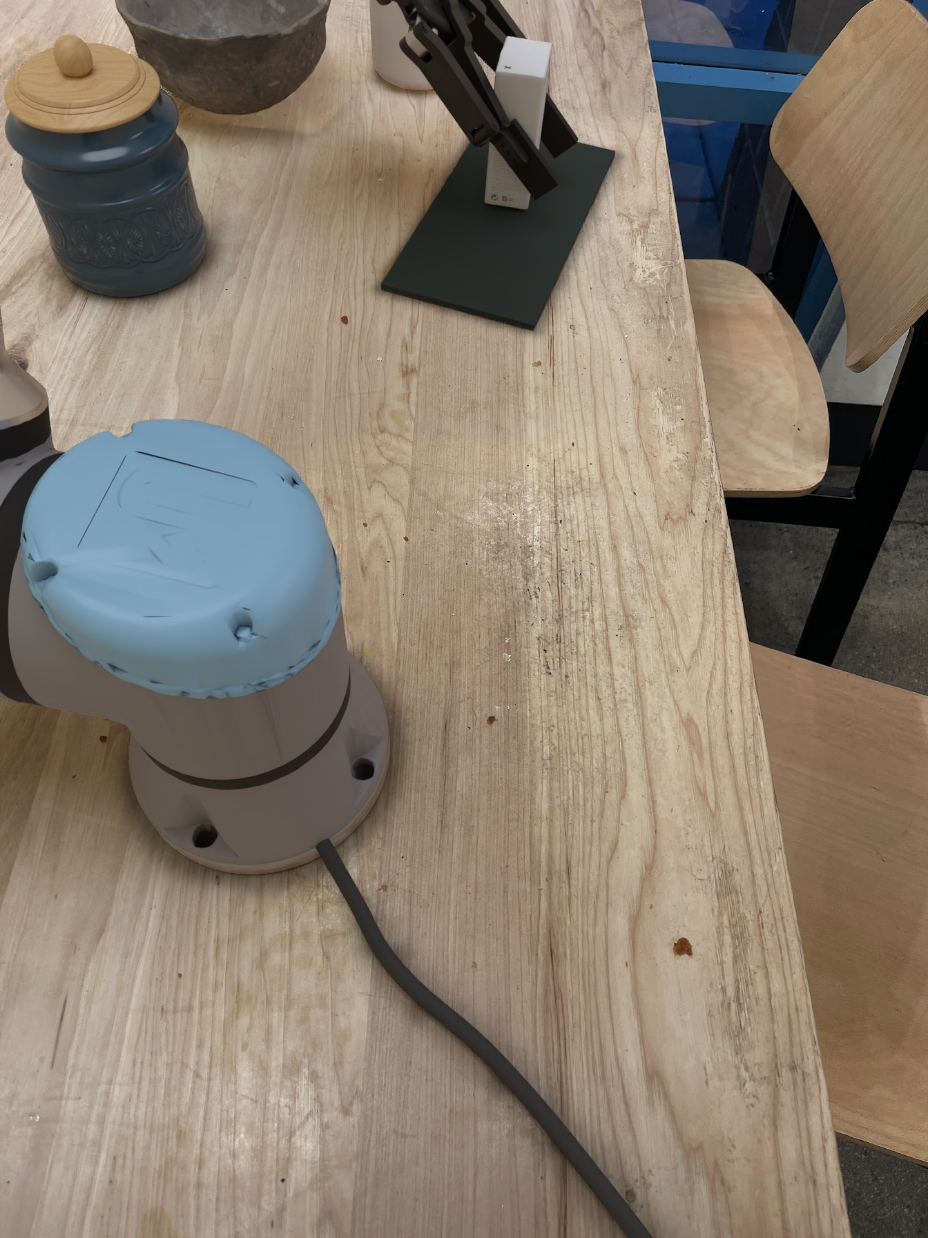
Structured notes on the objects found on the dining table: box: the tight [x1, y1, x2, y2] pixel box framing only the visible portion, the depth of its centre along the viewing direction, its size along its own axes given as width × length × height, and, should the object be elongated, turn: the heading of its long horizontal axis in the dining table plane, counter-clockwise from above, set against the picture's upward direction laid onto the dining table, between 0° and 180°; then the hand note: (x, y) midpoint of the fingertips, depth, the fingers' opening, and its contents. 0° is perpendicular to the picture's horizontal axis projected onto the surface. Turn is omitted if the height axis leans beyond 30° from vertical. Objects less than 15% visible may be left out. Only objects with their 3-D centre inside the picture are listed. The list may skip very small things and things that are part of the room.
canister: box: [3, 34, 207, 298], centre depth 71 cm, size 13×13×18 cm
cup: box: [368, 0, 434, 91], centre depth 92 cm, size 10×10×10 cm
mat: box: [380, 139, 616, 331], centre depth 83 cm, size 28×14×1 cm, turn 161°
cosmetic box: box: [485, 36, 553, 209], centre depth 79 cm, size 6×4×12 cm
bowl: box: [114, 0, 332, 116], centre depth 89 cm, size 21×21×10 cm
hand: (556, 168), depth 81 cm, fingers closed on cosmetic box, 6 cm apart
